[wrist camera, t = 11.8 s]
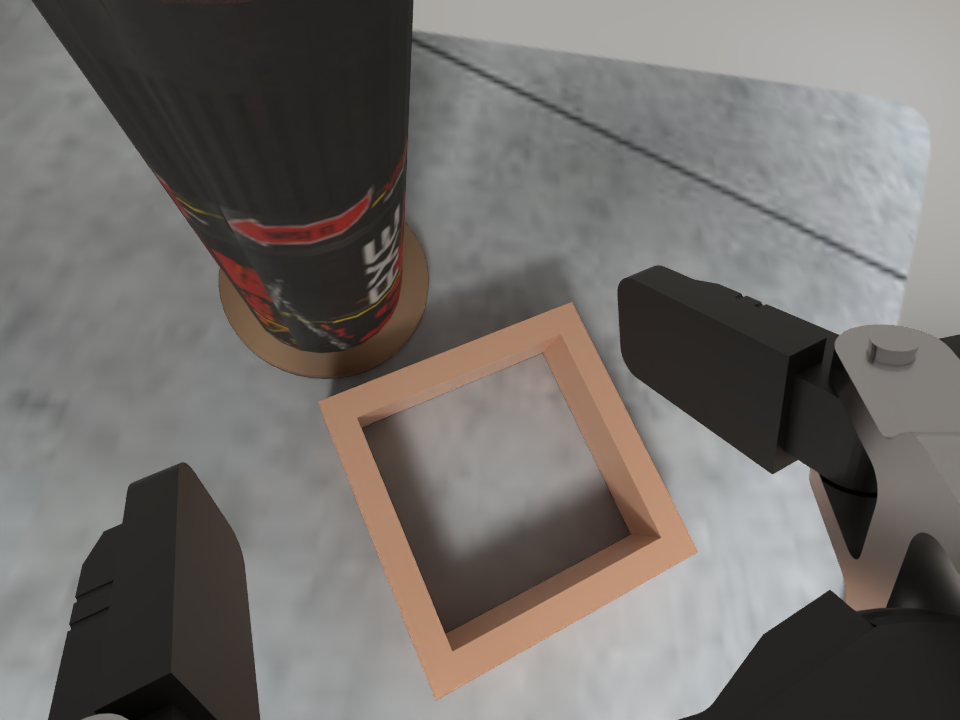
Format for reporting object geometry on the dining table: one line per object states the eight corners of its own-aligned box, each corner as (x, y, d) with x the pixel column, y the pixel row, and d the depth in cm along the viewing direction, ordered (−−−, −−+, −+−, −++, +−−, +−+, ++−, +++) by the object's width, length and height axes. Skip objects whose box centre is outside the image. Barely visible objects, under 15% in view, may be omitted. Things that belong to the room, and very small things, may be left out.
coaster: (263, 410, 20) (260, 407, 20) (195, 228, 22) (190, 220, 21) (458, 335, 22) (460, 330, 22) (384, 172, 24) (383, 164, 23)
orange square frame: (429, 676, 19) (435, 700, 17) (325, 414, 21) (317, 401, 18) (663, 547, 22) (697, 551, 19) (553, 323, 23) (571, 301, 21)
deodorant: (275, 195, 22) (63, -380, 8) (418, 236, 23) (462, -234, 8) (221, 329, 20) (-177, -96, 6) (377, 371, 21) (347, 67, 7)
